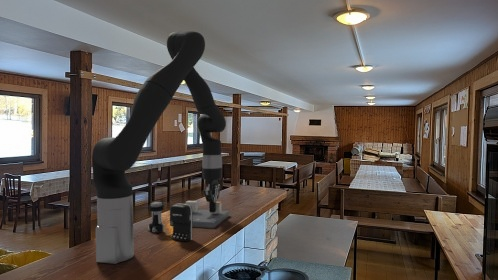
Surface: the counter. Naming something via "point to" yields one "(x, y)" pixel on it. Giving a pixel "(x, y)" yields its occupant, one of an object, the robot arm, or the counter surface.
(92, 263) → the counter surface
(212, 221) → the breaker board
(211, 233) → the counter surface
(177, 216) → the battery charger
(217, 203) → the handle
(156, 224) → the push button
